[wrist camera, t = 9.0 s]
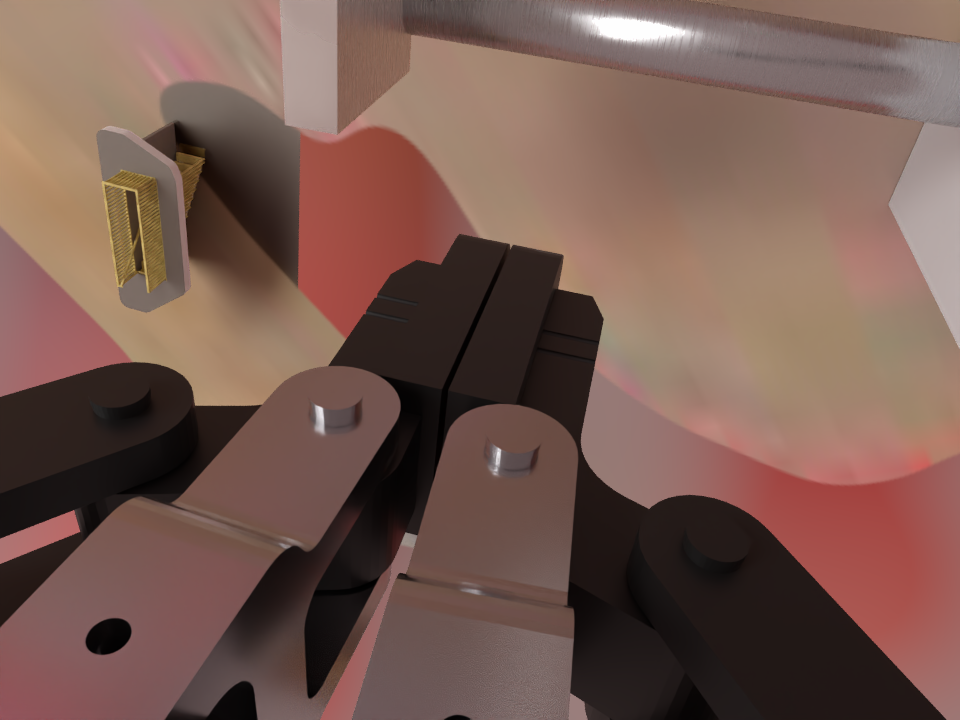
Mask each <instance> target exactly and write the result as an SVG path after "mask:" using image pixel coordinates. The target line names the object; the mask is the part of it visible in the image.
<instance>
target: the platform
mask: <svg viewBox="0 0 960 720" xmlns="http://www.w3.org/2000/svg"><path fill="white" fill-rule="evenodd" d="M160 112H161V115H162V117H163V120H164V123H165V125H166V126H164V127H162V128H160V129H159V130H157V131H155V132H153V133H152V134H150V135H148V136H147V137H145V138H143V139H141V138H140V137H138V136H137V135H136V134H134V133H133V132H131V131H129V130H126V129H122V128H118V127H113V126H107V127H105V128H103V129H101V130H100V131H98V133H97V144H98V150H99V157H100V164H101V171H102V178H103V181H102V187H103V194H104V201H105V208H106V214H107V221H108V228H109V235H110V242H111V249H112V255H113V262H114V269H115V276H116V283H117V286H118V288H119V295H120V300H121V302H122V303H123V304H124V305H125V306H126V307H128V308H131V309H135V310H139V311H142V312H150V311H152V310H154V309H156V308H158V307H160V306H162V305H164V304H166V303H168V302H170V301H172V300H174V299H176V298H178V297H180V296H182V295H184V294H185V293H186V292H187V291H188V290H189V289H190V287H191V282H190V270H189V257H188V245H187V232H186V220H185V219H186V218H187V217H188V216H187V214H188V210H189V209H190V208H191V207H190V205H191V200H193V199H194V198H193V195H194V191H196V190H197V189H196V188H195V187H196V184H197V182H198V181H200V180H198V178H199V175H200V176H201V177H202V179H203V180H204V181H205V182H206V184H207V185H208V186H209V187H210V189H211V190H212V191H213V192H214V194H215V195H216V196H217V197H218V198H219V200H220V201H221V202H222V203H223V205H224V206H225V207H226V208H227V210H228V211H229V212H230V213H231V214H232V216H233V217H234V218H235V219H236V220H237V222H238V223H239V224H240V225H241V226H242V228H243V229H244V230H245V231H246V232H247V233H248V235H249V236H250V237H251V238H252V239H253V240H254V241H255V242H256V243H257V245H258V246H259V247H260V248H261V249H262V250H263V251H264V252H265V253H266V255H267V256H269V258H270V259H271V260H272V261H273V262H274V263H275V264H276V265H277V266H278V267H279V268H280V269H281V270H282V272H283V273H284V274H285V275H286V276H287V277H288V278H289V279H290V280H291V281H292V282H293V283H294V284H295V286H296V287H297V288H298V259H299V258H298V257H299V255H298V254H299V195H300V193H299V192H300V131H298V130H297V129H295V128H294V127H293V126H288V125H285V120H283V119H281V118H280V117H279V116H278V115H277V114H275V113H274V112H272V111H271V110H270V109H268V108H267V107H265V106H264V105H263V104H262V103H260V102H258V101H257V100H256V99H254V98H252V97H250V96H248V95H246V94H245V93H243V92H241V91H239V90H237V89H234V88H232V87H229V86H225V85H222V84H218V83H209V82H204V81H199V82H197V81H183V82H177V83H173V84H171V85H169V86H167V87H166V88H165V89H164V90H163V92H162V93H161V95H160ZM176 144H177V145H178V147H179V148H180V150H181V151H182V153H180V152H176ZM178 161H179V162H178ZM186 163H188V164H186ZM190 164H191V165H190ZM181 171H182V172H181ZM185 201H186V202H185Z"/></svg>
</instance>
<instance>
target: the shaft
mask: <svg viewBox="0 0 960 720" xmlns="http://www.w3.org/2000/svg"><path fill="white" fill-rule="evenodd" d="M280 17H281V41H282V64H283V88H284V111H285V125H288V126H294V127H299V128H304V129H310V130H315V131H320V132H325V133H331V134H336V135H338V134H339V133H340V132H341V131H342V130H343V129H345V128H346V127H347V126H348V125H349V124H350V123H351V122H353V121H354V120H355V119H356V118H357V117H358V116H359V115H361V114H362V113H363V112H364V111H365V110H366V109H367V108H368V107H370V106H371V105H372V104H373V103H374V102H375V101H376V100H378V99H379V98H380V97H381V96H382V95H383V94H384V93H386V92H387V91H388V90H389V89H390V88H391V87H392V86H393V85H395V84H396V83H397V82H398V81H399V80H400V79H401V78H403V77H404V76H405V75H406V74H407V73H408V72H409V70H410V51H411V35H416V36H422V37H428V38H434V39H440V40H446V41H451V42H457V43H463V44H469V45H475V46H481V47H487V48H492V49H498V50H504V51H510V52H516V53H522V54H527V55H533V56H539V57H545V58H551V59H557V60H563V61H568V62H574V63H580V64H586V65H592V66H598V67H604V68H609V69H615V70H621V71H627V72H633V73H639V74H645V75H650V76H656V77H662V78H668V79H674V80H680V81H685V82H691V83H697V84H703V85H709V86H715V87H721V88H726V89H732V90H738V91H744V92H750V93H756V94H762V95H767V96H773V97H779V98H785V99H791V100H797V101H803V102H808V103H814V104H820V105H826V106H832V107H838V108H843V109H849V110H855V111H861V112H867V113H873V114H879V115H884V116H890V117H896V118H902V119H908V120H914V121H920V122H925V123H931V124H937V125H943V126H949V127H955V128H960V43H956V42H950V41H943V40H937V39H931V38H925V37H918V36H912V35H906V34H899V33H893V32H887V31H880V30H874V29H868V28H861V27H855V26H849V25H842V24H836V23H830V22H823V21H817V20H811V19H804V18H798V17H792V16H785V15H779V14H773V13H767V12H760V11H754V10H748V9H741V8H735V7H729V6H722V5H716V4H710V3H703V2H697V1H691V0H280Z"/></svg>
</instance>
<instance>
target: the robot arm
mask: <svg viewBox="0 0 960 720" xmlns="http://www.w3.org/2000/svg"><path fill="white" fill-rule="evenodd" d="M562 264H563V255H562V254H557V253H552V252H547V251H542V250H537V249H532V248H527V247H522V246H517V245H513V246H512V248H511V250H510V244H507V243H502V242H497V241H492V240H487V239H482V238H477V237H472V236H467V235H462V234H459V235H458V236H457V238H456V240H455V241H454V243H453V245H452V246H451V248H450V250H449V252H448V253H447V255H446V257H445V258H444V260H443V262H442V264H441V265H438V264H434V263H429V262H424V261H420V260H416V261H414V262H412V263H410V264H408V265H407V266H405V267H403V268H401V269H399V270H398V271H396V272H394V273H392V274H391V275H390V276H389V278H388V279H387V281H386V282H385V284H384V285H383V287H382V288H381V290H380V291H379V293H378V295H377V298H374V300H373V301H372V303H371V305H370V306H369V307H368V309H367V311H366V315H365V314H364V315H363V316H362V317H361V319H360V321H359V322H358V323H357V325H356V326H355V328H354V329H353V331H352V332H351V334H350V335H349V336H348V338H347V339H346V341H345V342H344V344H343V345H342V347H341V348H340V350H339V351H338V353H337V354H336V356H335V357H334V358H333V360H332V361H331V363H330V364H329V366H326V367H319V368H314V369H309V370H306V371H303V372H300V373H298V374H296V375H294V376H292V377H290V378H289V379H287V380H286V381H284V382H283V383H282V384H281V385H280V386H279V387H278V388H277V389H276V390H275V391H274V392H273V393H272V394H271V396H270V397H269V398H268V399H267V400H266V401H265V402H264V403H263V405H255V406H195V403H194V396H193V391H192V387H191V385H190V384H189V382H188V381H187V379H186V378H185V377H184V376H183V375H181V374H180V373H178V372H177V371H175V370H172V369H170V368H168V367H165V366H161V365H158V364H151V363H139V362H132V363H120V364H114V365H109V366H104V367H100V368H97V369H93V370H90V371H87V372H84V373H80V374H76V375H73V376H70V377H66V378H63V379H60V380H56V381H53V382H49V383H46V384H43V385H39V386H36V387H32V388H29V389H26V390H22V391H19V392H16V393H13V394H9V395H5V396H2V397H0V538H3V537H5V536H8V535H10V534H13V533H16V532H18V531H21V530H23V529H26V528H28V527H31V526H34V525H36V524H39V523H42V522H44V521H47V520H49V519H51V518H54V517H57V516H60V515H62V514H65V513H67V512H70V511H73V510H74V511H75V515H76V518H77V521H78V525H79V528H80V532H79V533H77V534H74V535H72V536H69V537H67V538H64V539H62V540H59V541H57V542H54V543H52V544H49V545H47V546H44V547H42V548H39V549H37V550H34V551H32V552H29V553H27V554H24V555H22V556H19V557H17V558H14V559H12V560H9V561H7V562H4V563H2V564H0V720H320V718H321V716H322V714H323V712H324V710H325V708H326V706H327V704H328V702H329V700H330V698H331V696H332V694H333V692H334V690H335V688H336V686H337V684H338V682H339V680H340V678H341V677H342V675H343V673H344V671H345V669H346V667H347V665H348V663H349V661H350V659H351V657H352V655H353V653H354V651H355V649H356V647H357V645H358V643H359V641H360V640H361V638H362V635H363V633H364V632H365V630H366V628H367V626H368V624H369V622H370V620H371V618H372V616H373V614H374V612H375V610H376V608H377V606H378V604H379V602H380V600H381V598H382V597H383V594H384V592H385V591H386V589H387V586H388V584H389V581H390V576H391V564H392V562H393V560H394V558H395V556H396V554H397V551H398V549H399V546H400V544H401V542H402V539H403V537H404V534H405V532H407V533H411V534H415V535H418V536H417V539H416V543H415V546H414V550H413V553H412V557H411V560H410V564H409V567H408V570H407V572H406V574H403V573H399V574H398V576H397V578H396V580H395V582H394V585H393V587H392V590H391V593H390V596H389V599H388V602H387V605H386V609H385V612H384V615H383V619H382V622H381V625H380V629H379V632H378V635H377V638H376V642H375V645H374V648H373V651H372V655H371V658H370V661H369V665H368V668H367V671H366V675H365V678H364V681H363V684H362V688H361V691H360V694H359V697H358V701H357V704H356V707H355V711H354V714H353V718H352V720H568V717H569V701H570V693H571V694H573V695H574V696H576V697H578V698H579V699H581V700H582V701H584V702H585V710H586V715H587V718H588V720H946V719H945V718H944V717H943V715H942V714H941V713H940V712H939V711H938V710H937V709H936V708H935V707H934V706H933V705H932V704H931V703H930V702H929V701H928V699H927V698H925V696H924V695H923V694H922V693H921V692H920V691H919V690H918V689H917V688H916V687H915V686H914V685H913V684H912V682H911V681H910V680H909V679H908V678H907V677H906V676H905V675H904V674H903V673H902V672H901V671H900V670H899V669H898V668H897V666H895V664H894V663H893V662H892V661H891V660H890V659H889V658H888V657H887V656H886V655H885V654H884V653H883V652H882V650H881V649H880V648H879V647H878V646H877V645H876V644H875V643H874V642H873V641H872V640H871V639H870V638H869V637H868V636H867V634H866V633H865V632H864V631H863V630H862V629H861V628H860V627H859V626H858V625H857V624H856V623H855V622H854V621H853V620H852V618H851V617H850V616H849V615H848V614H847V613H846V612H845V611H844V610H843V609H842V608H841V607H840V606H839V605H838V604H837V603H836V601H835V600H834V599H833V598H832V597H831V596H830V595H829V594H828V593H827V592H826V591H825V590H824V589H823V588H822V587H821V586H820V585H819V583H818V582H817V581H816V580H815V579H814V578H813V577H812V576H811V575H810V574H809V573H808V572H807V571H806V569H805V568H804V567H803V566H802V565H801V564H800V563H799V562H798V561H797V560H796V559H795V558H794V557H793V556H792V555H791V553H790V552H789V551H788V550H787V549H786V548H785V547H784V546H783V545H782V544H781V543H780V542H779V541H778V540H777V538H776V537H775V536H774V535H773V534H772V533H771V532H770V531H769V530H768V529H767V528H766V527H765V526H764V525H763V524H761V523H760V522H759V521H758V520H757V519H755V518H754V517H753V516H751V515H750V514H748V513H747V512H745V511H743V510H741V509H740V508H738V507H736V506H733V505H731V504H729V503H727V502H724V501H721V500H718V499H715V498H710V497H704V496H696V495H683V496H676V497H671V498H667V499H665V500H662V501H660V502H658V503H657V504H655V505H654V506H652V507H651V508H650V509H648V508H646V507H644V506H642V505H640V504H637V503H636V502H634V501H632V500H630V499H628V498H626V497H624V496H623V495H621V494H619V493H618V492H616V491H614V490H613V489H612V488H610V487H609V486H608V485H606V484H605V483H604V482H603V481H602V480H601V479H600V478H598V477H597V476H596V474H595V473H594V472H593V471H592V469H591V468H590V467H589V465H588V463H587V462H586V460H585V458H584V455H583V452H582V448H581V433H582V428H583V423H584V417H585V412H586V407H587V402H588V397H589V392H590V386H591V381H592V376H593V371H594V366H595V361H596V356H597V351H598V345H599V341H600V336H601V330H602V325H603V320H604V319H603V317H602V315H601V313H600V311H599V308H598V306H597V304H596V302H595V300H594V298H593V296H588V295H583V294H578V293H573V292H569V291H564V290H559V289H558V286H559V281H560V276H561V270H562Z"/></svg>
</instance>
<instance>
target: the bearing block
mask: <svg viewBox="0 0 960 720" xmlns="http://www.w3.org/2000/svg"><path fill="white" fill-rule="evenodd" d="M888 205H889V207H890V209H891V211H892V213H893V215H894V217H895V219H896V221H897V223H898V225H899V227H900V229H901V231H902V233H903V235H904V237H905V239H906V241H907V243H908V245H909V247H910V249H911V251H912V253H913V255H914V257H915V259H916V261H917V263H918V266H919V268H920V270H921V272H922V274H923V276H924V278H925V280H926V282H927V284H928V286H929V288H930V290H931V292H932V294H933V296H934V298H935V300H936V302H937V304H938V306H939V308H940V310H941V312H942V314H943V316H944V318H945V320H946V322H947V324H948V326H949V328H950V330H951V332H952V334H953V336H954V338H955V340H956V342H957V345H958V347H959V349H960V128H955V127H949V126H943V125H937V124H931V123H924V125H923V128H922V130H921V132H920V134H919V137H918V139H917V141H916V143H915V146H914V148H913V150H912V152H911V155H910V157H909V159H908V161H907V163H906V166H905V168H904V170H903V172H902V175H901V177H900V179H899V181H898V184H897V186H896V188H895V190H894V193H893V195H892V197H891V199H890V202H889V204H888Z"/></svg>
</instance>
